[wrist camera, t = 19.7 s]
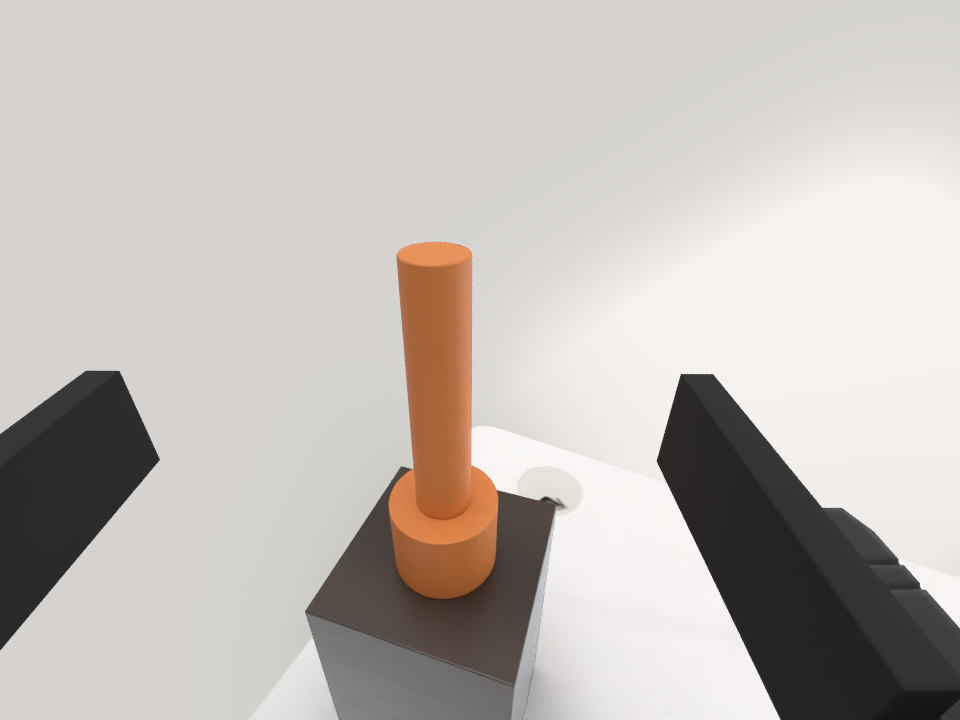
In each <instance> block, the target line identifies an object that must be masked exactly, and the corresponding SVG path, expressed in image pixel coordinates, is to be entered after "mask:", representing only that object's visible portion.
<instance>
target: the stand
mask: <svg viewBox="0 0 960 720" xmlns="http://www.w3.org/2000/svg"><path fill="white" fill-rule="evenodd" d="M410 470H412V469H410V468H406V467H401V468H400V469H399V470H398V472H397V473H396V475H395V477H394V478H393V480H392V481H391V483H390V484H389V486H388V487H387V489H386V490H385V492H384V493H383V495H382V496H381V498H380V499H379V501H378V502H377V504H376V505H375V507H374V508H373V510H372V511H371V513H370V514H369V516H368V517H367V519H366V520H365V522H364V523H363V525H362V526H361V528H360V529H359V531H358V532H357V534H356V535H355V537H354V538H353V540H352V541H351V543H350V544H349V546H348V547H347V549H346V550H345V552H344V554H343V555H342V557H341V558H340V559H339V561H338V563H337V564H336V566H335V567H334V569H333V570H332V572H331V573H330V575H329V576H328V578H327V579H326V581H325V582H324V584H323V585H322V587H321V588H320V590H319V591H318V593H317V594H316V596H315V597H314V599H313V600H312V602H311V603H310V605H309V606H308V608H307V609H306V611H305V613H306V616H307V619H308V622H309V626H310V629H311V632H312V635H313V639H314V642H315V645H316V648H317V651H318V655H319V658H320V661H321V664H322V667H323V671H324V674H325V677H326V680H327V683H328V687H329V690H330V693H331V696H332V700H333V703H334V706H335V709H336V712H337V716H338V719H339V720H523V718H524V713H525V708H526V704H527V699H528V694H529V689H530V684H531V679H532V674H533V669H534V664H535V657H536V650H537V643H538V635H539V628H540V621H541V614H542V607H543V600H544V593H545V586H546V578H547V571H548V564H549V557H550V550H551V543H552V536H553V528H554V521H555V514H556V507H557V506H556V505H554V504H550V503H546V502H542V501H538V500H534V499H530V498H526V497H522V496H518V495H514V494H510V493H506V492H502V491H498V490H497V494H498V516H497V537H496V557H495V562H494V566H493V568H492V571H491V572H490V574H489V576H488V577H487V578H486V580H485V581H484V582H483V583H482V584H481V585H480V586H479V587H477V588H476V589H475V590H473V591H471V592H470V593H467V594H465V595H463V596H459V597H456V598H450V599H436V598H430V597H427V596H424V595H421V594H419V593H417V592H415V591H414V590H413V589H411V588H410V587H409V586H408V585H407V584H406V583H405V582H404V581H403V579H402V578H401V576H400V574H399V573H398V570H397V567H396V561H395V553H394V545H393V537H392V530H391V522H390V514H389V498H390V495H391V492H392V490H393V488H394V486H395V485H396V483H397V482H398V481H399V480H400V479H401V477H403V476H404V475H405V474H406V473H408V472H409V471H410Z"/></svg>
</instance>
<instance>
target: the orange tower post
mask: <svg viewBox="0 0 960 720" xmlns="http://www.w3.org/2000/svg"><path fill="white" fill-rule="evenodd" d="M397 269H398V280H399V293H400V305H401V318H402V328H403V329H402V330H403V341H404V354H405V366H406V379H407V391H408V402H409V415H410V428H411V440H412V452H413V464H414V469H412V470H410V471H409V472H408V473H406V474H405V475H404V476H403V477H401V479H400V480H399V481H398V482H397V483H396V485H395V486H394V488H393V490H392V492H391V495H390V498H389V514H390V522H391V530H392V537H393V545H394V553H395V561H396V567H397V570H398V573H399V574H400V576H401V578H402V579H403V581H404V582H405V583H406V584H407V585H408V586H409V587H410V588H411V589H413V590H414V591H415V592H417V593H419V594H421V595H424V596H427V597H430V598H436V599H450V598H456V597H459V596H463V595H465V594H467V593H470V592H471V591H473V590H475V589H476V588H477V587H479V586H480V585H481V584H482V583H483V582H484V581H485V580H486V578H487V577H488V576H489V574H490V572H491V571H492V568H493V566H494V562H495V557H496V537H497V516H498V494H497V490H496V488H495V486H494V484H493V482H492V481H491V479H490V478H489V477H488V476H487V475H486V474H485V473H484V472H483V471H481V470H479V469H478V468H476V467H474V466H472V465H471V393H472V392H471V391H472V389H471V387H472V385H471V384H472V379H471V377H472V375H471V374H472V369H471V368H472V253H471V251H470V250H469V249H468V248H466V247H464V246H461V245H458V244H454V243H447V242H425V243H418V244H413V245H409V246H406V247H404V248H402V249H400V250H399V251H398V253H397Z"/></svg>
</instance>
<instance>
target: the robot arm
mask: <svg viewBox="0 0 960 720" xmlns="http://www.w3.org/2000/svg"><path fill="white" fill-rule="evenodd" d="M159 460H160V459H159V457H158V454H157V452H156V450H155V448H154V446H153V444H152V441H151V439H150V437H149V435H148V433H147V430H146V428H145V426H144V424H143V422H142V419H141V417H140V415H139V413H138V411H137V408H136V406H135V404H134V402H133V400H132V397H131V395H130V393H129V391H128V389H127V386H126V384H125V382H124V380H123V378H122V376H121V374H120V371H85V372H84V373H83V374H81V375H80V376H78V377H77V378H76V379H74V380H73V381H72V382H70V383H69V384H67V385H66V386H65V387H63V388H62V389H61V390H59V391H58V392H57V393H55V394H54V395H53V396H51V397H50V398H49V399H47V400H46V401H44V402H43V403H42V404H40V405H39V406H38V407H36V408H35V409H34V410H32V411H31V412H30V413H28V414H27V415H26V416H24V417H23V418H21V419H20V420H19V421H18V422H16V423H15V424H13V425H12V426H11V427H9V428H8V429H7V430H5V431H4V432H2V433H1V434H0V650H1V649H2V648H3V647H4V645H5V644H6V643H7V642H8V641H9V639H10V638H11V637H12V636H13V635H14V633H15V632H16V631H17V630H18V629H19V627H20V626H21V625H22V624H23V623H24V621H25V620H26V619H27V618H28V617H29V615H30V614H31V613H32V612H33V611H34V610H35V608H36V607H37V606H38V605H39V604H40V602H41V601H42V600H43V599H44V598H45V596H46V595H47V594H48V593H49V592H50V590H51V589H52V588H53V587H54V586H55V584H56V583H57V582H58V581H59V580H60V578H61V577H62V576H63V575H64V574H65V572H66V571H67V570H68V569H69V568H70V566H71V565H72V564H73V563H74V562H75V561H76V559H77V558H78V557H79V556H80V554H81V553H82V552H83V551H84V550H85V549H86V547H87V546H88V545H89V544H90V543H91V541H92V540H93V539H94V538H95V537H96V535H97V534H98V533H99V532H100V531H101V529H102V528H103V527H104V526H105V525H106V524H107V522H108V521H109V520H110V519H111V518H112V516H113V515H114V514H115V513H116V512H117V510H118V509H119V508H120V507H121V505H122V504H123V503H124V502H125V501H126V500H127V498H128V497H129V496H130V495H131V494H132V492H133V491H134V490H135V489H136V488H137V487H138V485H139V484H140V483H141V482H142V481H143V479H144V478H145V477H146V476H147V475H148V473H149V472H150V471H151V470H152V469H153V467H154V466H155V465H156V464H157V463H158V461H159ZM657 463H658V465H659V467H660V469H661V471H662V473H663V475H664V478H665V480H666V482H667V484H668V486H669V488H670V490H671V492H672V494H673V496H674V498H675V501H676V503H677V505H678V507H679V509H680V511H681V513H682V515H683V517H684V519H685V521H686V523H687V526H688V528H689V530H690V532H691V534H692V536H693V538H694V540H695V542H696V544H697V546H698V549H699V551H700V553H701V555H702V557H703V559H704V561H705V563H706V565H707V567H708V569H709V571H710V574H711V576H712V578H713V580H714V582H715V584H716V586H717V588H718V590H719V592H720V594H721V596H722V599H723V601H724V603H725V605H726V607H727V609H728V611H729V613H730V615H731V617H732V619H733V621H734V624H735V626H736V628H737V630H738V632H739V634H740V636H741V638H742V640H743V642H744V644H745V646H746V649H747V651H748V653H749V655H750V657H751V659H752V661H753V663H754V665H755V667H756V669H757V671H758V674H759V676H760V678H761V680H762V682H763V684H764V686H765V688H766V690H767V692H768V694H769V697H770V699H771V701H772V703H773V705H774V707H775V709H776V711H777V713H778V715H779V717H780V719H781V720H960V628H959V627H958V626H957V625H956V623H955V622H954V621H953V620H952V619H951V618H950V617H949V616H948V614H947V613H946V612H945V611H944V610H943V609H942V608H941V607H940V605H939V604H938V603H937V602H936V601H935V600H934V599H933V598H932V596H931V595H930V594H929V593H928V592H927V591H926V590H922V589H921V588H920V583H919V582H918V581H917V580H916V578H915V577H914V576H913V575H912V574H911V573H910V572H909V571H908V569H907V568H906V567H905V566H904V565H900V564H899V562H898V560H899V559H898V558H897V557H896V556H895V555H894V554H893V553H892V551H891V550H890V549H889V548H888V547H887V546H886V545H885V544H884V543H883V541H882V540H881V539H880V538H879V537H878V536H877V535H876V533H875V532H874V531H872V530H871V529H870V528H868V527H867V526H866V525H864V524H863V523H861V522H860V521H859V520H857V519H856V518H855V517H853V516H852V515H850V514H849V513H848V512H846V511H845V510H844V509H842V508H822V507H821V506H820V505H819V503H818V502H817V501H816V500H815V498H814V497H813V496H812V495H811V494H810V492H809V491H808V490H807V489H806V488H805V486H804V485H803V484H802V483H801V481H800V480H799V479H798V478H797V477H796V475H795V474H794V473H793V472H792V470H791V469H790V468H789V467H788V465H787V464H786V463H785V462H784V461H783V459H782V458H781V457H780V456H779V454H778V453H777V452H776V451H775V450H774V448H773V447H772V446H771V445H770V443H769V442H768V441H767V440H766V438H765V437H764V436H763V435H762V434H761V433H760V431H759V430H758V429H757V427H756V426H755V425H754V424H753V423H752V421H751V420H750V419H749V418H748V416H747V415H746V414H745V413H744V412H743V410H742V409H741V408H740V407H739V405H738V404H737V403H736V402H735V401H734V399H733V398H732V397H731V396H730V394H729V393H728V392H727V391H726V390H725V389H724V387H723V386H722V385H721V383H720V382H719V381H718V380H717V379H716V377H715V376H714V375H713V374H681V376H680V379H679V383H678V387H677V390H676V394H675V397H674V401H673V404H672V408H671V411H670V415H669V419H668V422H667V426H666V429H665V433H664V437H663V440H662V444H661V448H660V451H659V455H658V459H657Z"/></svg>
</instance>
